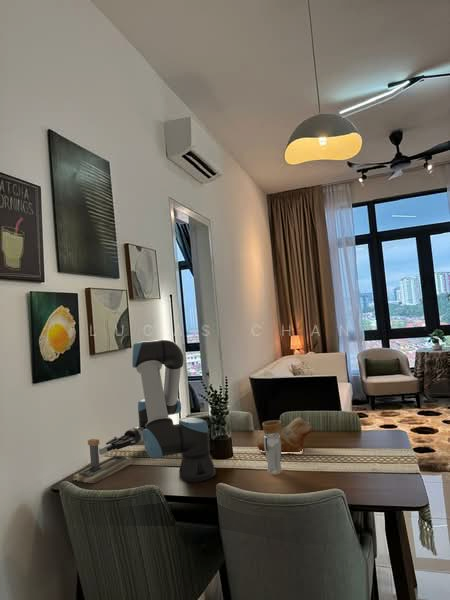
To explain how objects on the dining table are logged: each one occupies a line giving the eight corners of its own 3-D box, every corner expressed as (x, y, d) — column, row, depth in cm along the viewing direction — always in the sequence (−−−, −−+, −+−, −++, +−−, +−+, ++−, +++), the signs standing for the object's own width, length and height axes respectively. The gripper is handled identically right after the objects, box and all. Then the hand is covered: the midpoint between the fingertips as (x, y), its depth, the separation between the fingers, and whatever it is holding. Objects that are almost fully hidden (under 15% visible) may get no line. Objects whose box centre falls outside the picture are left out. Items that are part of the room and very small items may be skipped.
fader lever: (101, 469, 185) (99, 439, 186) (97, 471, 183) (95, 441, 183) (93, 468, 187) (91, 438, 188) (89, 470, 185) (87, 440, 186)
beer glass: (282, 475, 169) (279, 438, 170) (265, 475, 171) (262, 438, 171) (283, 469, 176) (281, 433, 176) (267, 469, 177) (264, 433, 178)
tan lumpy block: (314, 455, 190) (311, 421, 190) (256, 456, 194) (254, 423, 194) (313, 445, 203) (310, 414, 204) (259, 446, 208) (256, 415, 208)
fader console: (131, 463, 197) (131, 456, 197) (93, 483, 176) (93, 475, 176) (112, 460, 203) (112, 454, 203) (73, 480, 182) (72, 472, 182)
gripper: (145, 444, 207) (112, 461, 186) (125, 442, 213) (90, 458, 192) (144, 429, 207) (110, 444, 186) (124, 427, 213) (89, 442, 192)
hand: (100, 451), depth 189 cm, fingers closed
